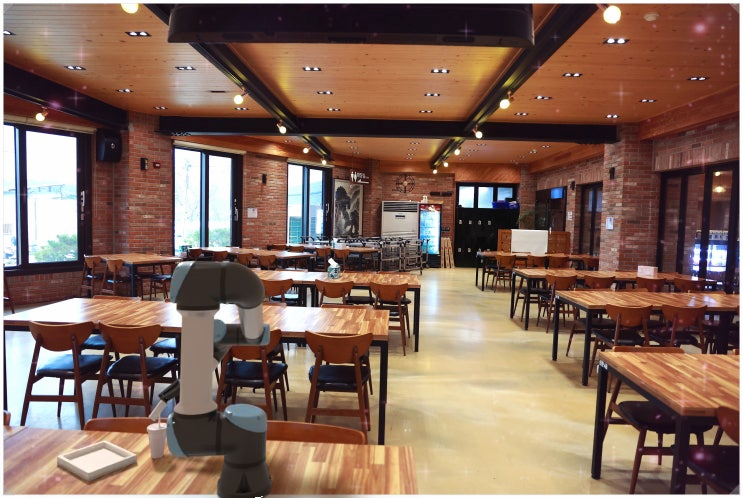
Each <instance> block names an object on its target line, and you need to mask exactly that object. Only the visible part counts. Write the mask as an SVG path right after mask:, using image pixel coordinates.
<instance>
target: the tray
mask: <svg viewBox="0 0 743 498" xmlns="http://www.w3.org/2000/svg"><path fill="white" fill-rule="evenodd" d="M137 460H138V455H137V454H136V453H134V452H132V451H129V450H127V449H125V448H123V447H121V446H119V445H116V444H115V443H112V442H110V441H107V440H102V441H99V442H95V443H93V444H90V445H87V446H84V447H81V448H78V449H75V450H72V451H69V452H66V453H63V454H60V455H57V457H56V465H58V466H60V467H62V468H64V469H65V470H67V471H69V472H70V473H72V474H74V475H76V476H78V477H80V478H82V479H83V480H85V481H87V482H91V481H93V480H95V479H98V478H101V477H103V476H106V475H109V474H110V473H113V472H116V471H118V470H120V469H123V468H126V467H129V466H131V465H134V464H136V463H137V462H138V461H137Z"/></svg>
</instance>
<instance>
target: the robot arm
mask: <svg viewBox="0 0 743 498" xmlns="http://www.w3.org/2000/svg"><path fill="white" fill-rule="evenodd" d="M265 297H266V288H265V284H264V283H263V281H262V279H261V278H260V277H259V275H258V274H257V273H256V272H255V271H253V270H252V269H251V268H249V267H248V266H246V265H243V264H241V263H239V262H234V261H227V262H226V261H197V260H192V261H190V260H189V261H182V262H179V263H178V264H177V265H176V267H175V269H174V270H173V273H172V277H171V281H170V288H169V301H170V302H171V303H172V304H176V306H175V307H176V309H175V310H176V312H178V314H179V315H180V316H181V335H180V337H181V340H180V341H181V344H180V346H181V347H180V375H179V376H178V377H177V378H176V379H175V380H174V381H173V382H171V384H170V385H168V386H167V387H166V388H164V389H163V390H162V391H161V392H160V393H159V394H158V395H157V397H158V398H159V401H158V402H157V404H156V405H155V406H154V408H153V410H152V412H151V413H150V414H149V415H148V418H149V419H150V420H151V421H153V422H156V420H157V419H159V413H160V414H161V413H162V412H163V411H164V409H165V408H166V406H167V405H168V402H170V401H171V400H173V399H174V398H176V397H177V396H179V402H178V403H176V405H175V406H174V407H173V412H172V413H170V414H168V416H167V419H166V424H167V428H166V444H167V448H168V451H169V452H170V454H171V455H172V456H173V457H175V458H176V457H177V458H188V459H189V458H193V457H194V458H196V457H197V458H199V457H201V458H202V457H216V456H217V457H218V456H219V457H221V456H223V465H222V469H221V472H220V475H219V478H218V480H217V484H216V494H217V496H218V497H219V496H220V497H221V498H255V497H261V496H264V497H266V496H267V495H268V494H269V493H270V492H271V490H272V485H273V484H272V482H273V480H272V476H271V474H270V473H271V472H270V470H269V466H268V462H267V431H268V422H267V421H268V420H267V414H266V412H265V411H264V409H262V408H261V407H258V406H256V405H252V404H247V403H236V404H230V405H228V406H227V407H226V408H225V409H224V411H218V404H217V402H215V401H214V400H213V380H214V379H213V376H214V374H213V373H214V372H215V370H216V369H217V367H218V366H219V365H220V363H221V361H222V360H223V359H224V357H225V356H226V354H227V353H228V352H229V350H230V349H231V348H232V346H247V347H248V346H258V347H260V346H267V345H269V344H270V341H271V340H270V339H271V326H270V324H268V323H265V322H264V311H263V310H264V309H263V302H264V300H265ZM221 304H234V305H235V306H236V308H237V312H238V319H239V323H225V322H224V321H223V320H221V319H218V318H215V315H216V314H217V313H218V312H219V311H220V310H221ZM265 495H266V496H265ZM220 497H219V498H220Z"/></svg>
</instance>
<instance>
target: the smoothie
mask: <svg viewBox="0 0 743 498" xmlns="http://www.w3.org/2000/svg"><path fill="white" fill-rule="evenodd" d="M157 419H158V422H157V423H151V424H150V425H148V426H147V427H146V431H147V433H148V443H149V451H150V458H151V459H160V458H162V457H164V454H165V447H166V442H167V438H166V428H167V422H161V413H159V416H158V418H157Z"/></svg>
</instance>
